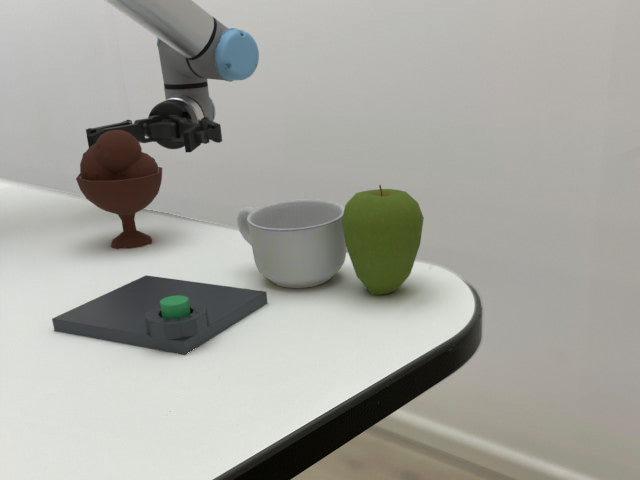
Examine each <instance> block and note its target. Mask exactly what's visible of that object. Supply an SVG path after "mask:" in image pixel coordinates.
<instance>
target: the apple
mask: <svg viewBox="0 0 640 480" xmlns="http://www.w3.org/2000/svg"><path fill="white" fill-rule="evenodd" d="M378 187H379V189H369V190H364V191H363V190H362V191H359V192H355V194H353V196H352V197H351V198H349V200H348V201H346V204H345V205H344V213H343V217H342V221H341V222H342V227H343V233H344V238H345V243H346V251H347V253H348V256H349V259H350V261H351V264H352V267H353V270H354V273H355V276H356V277H357V278H358V280H359V281H360V282H361V283H362V284H363V286H364V287H365V288H366V290H367V291H368V292H369V293H370V295H374V296H381V295H382V296H383V295H388V294H391V293H393V292H395V291H398V289H399V288H400V287H402V285H403V284H404V283H405V281H406V280H407V279H409V277H410V276H411V273H412V270H413V268H414V264H415V262H416V258H417V255H418V252H419V249H420V246H421V242H422V241H421V240H422V235H423V234H422V233H423V225H424V215H423V212H422V210H421V207H420V205H419V202H418V201H417V200H416V199H415V198H413V197H412V196H411V195H410V194H409V193H408V192H407V191H404V190H400V189H393V188H382V185H381V184H379V185H378Z"/></svg>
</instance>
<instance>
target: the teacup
mask: <svg viewBox="0 0 640 480" xmlns="http://www.w3.org/2000/svg"><path fill="white" fill-rule="evenodd" d="M344 209H345V206H343V205H342V204H340V203H337V202H335V201H331V200H327V199H326V200H324V199H314V198H313V199H309V198H308V199H307V198H305V199H303V198H301V199H291V200H283V201H278V202H274V203H270V204H266V205H264V206H260V207H257V206H253V205H251V206H245V207H244V208H242V209H241V210H240V211H239V212H238V215H237V218H236V219H237V227H238V230H239V233H240V234H241V236H242V238H243V239H244V240H245V242H247V243H248V244H249V245H250V246H251V250H252V255H253V260H254V264H255V266H256V269H257V270H258V272H259V274H261V275H262V276H263V277H265V279H268V280H269V281H271V282H272V283H273V284H275V285H277V286H279V287H282V288H287V289H307V288H312V287H317V286H321V285H323V284H324V283H326V282H328V281H330V280H331V279H332V278H333V276H334V275H335V274H336V273H338V272H339V271H340V270H341V269H342V267H343V266H344V263H345V260H346V256H347V247H346V243H345V238H344V233H343V227H342V222H341V221H342V217H343V213H344Z"/></svg>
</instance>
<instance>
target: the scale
mask: <svg viewBox="0 0 640 480" xmlns="http://www.w3.org/2000/svg"><path fill="white" fill-rule="evenodd" d="M170 296H186V297H187V298H188V299H189V305H190V313H191V314H190V315H188V316H185V317H181V318H172V319H167V318H162V313H161V307H160V301H161V300H162V299H164V298H166V297H170ZM267 304H268V293H267V291H265V290H256V289H251V288H243V287H234V286H228V285H221V284H213V283H205V282H197V281H191V280H183V279H177V278H168V277H162V276H154V275H143V276H141V277H139V278H137V279H135V280H132V281H131V282H129V283H126V284H124V285H122V286H119V287H118V288H116V289H113V290H111V291H109V292H107V293H105V294H102V295H100V296H98V297H96V298H94V299H91V300H90V301H88V302H85V303H83V304H81V305H79V306H76V307H75V308H71V309H70V310H68V311H66V312H63V313H61V314H59V315H57V316H55V317H52V318H51V322H52V326H53V331H54V332H58V333H62V334H68V335H74V336H79V337H84V338H90V339H95V340H102V341H106V342H111V343H118V344H122V345H123V344H124V345H128V346H133V347H137V348H138V347H139V348H144V349H150V350H155V351H160V352H165V353H171V354H176V355H182V356H187V355H188V354H189V353H188V352H190V351H191V352H193V351H194V350H196V349H197V348H199V347H200V345H201V346H202V345H204V344H205V343H207V342H208V341H210V340H212V339H213V338H216V336H219V334H221V333H223V332H224V331H226V330H228V329H230V328H231V327H233V326H234V325H236V324H237V323H239V322H240V321H242V320H244V319H246V318H247V317H248V316H250V315H252V314H253V313H255V312H256V311H258V310H259V309H261V308H262V307H264V306H266V305H267ZM195 348H196V349H195ZM193 349H194V350H193ZM192 350H193V351H192ZM191 352H190V353H191ZM177 353H178V354H177ZM187 353H188V354H187Z"/></svg>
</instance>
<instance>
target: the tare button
mask: <svg viewBox="0 0 640 480" xmlns="http://www.w3.org/2000/svg"><path fill="white" fill-rule="evenodd" d="M160 307H161V313H162V318H167V319H172V318H181V317H185V316H188V315H190V314H191V313H190V305H189V299H188V298H187V297H186V296H170V297H166V298H164V299H162V300H161V301H160Z"/></svg>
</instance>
